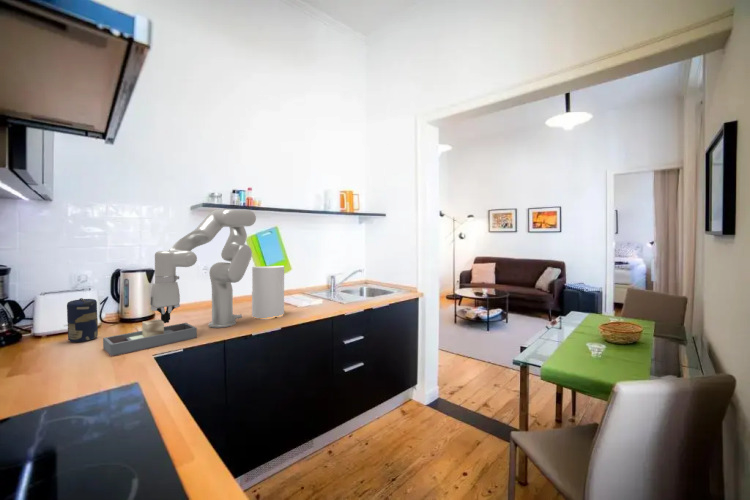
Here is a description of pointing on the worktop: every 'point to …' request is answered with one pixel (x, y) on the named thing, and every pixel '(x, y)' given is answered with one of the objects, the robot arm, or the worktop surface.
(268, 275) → the cylinder
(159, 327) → the birch block
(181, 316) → the worktop surface
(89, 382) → the worktop surface
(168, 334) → the grey shallow tray
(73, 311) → the canister
